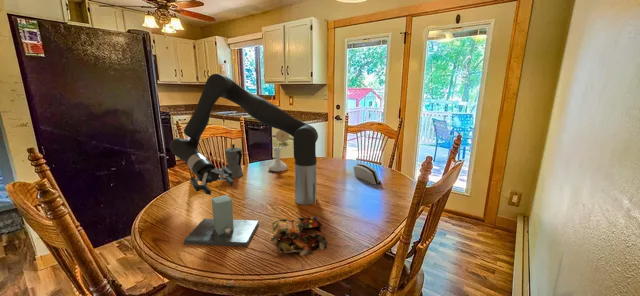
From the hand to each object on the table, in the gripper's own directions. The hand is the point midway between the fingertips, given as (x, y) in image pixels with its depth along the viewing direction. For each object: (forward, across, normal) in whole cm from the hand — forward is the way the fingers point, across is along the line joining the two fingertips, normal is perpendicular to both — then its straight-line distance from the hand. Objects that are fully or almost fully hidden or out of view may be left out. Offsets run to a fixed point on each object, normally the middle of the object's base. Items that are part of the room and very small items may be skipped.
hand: (221, 188), depth 98 cm
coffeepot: (-34, +26, +29) cm, 51 cm away
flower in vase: (-26, +50, +30) cm, 63 cm away
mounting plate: (+14, -7, +7) cm, 17 cm away
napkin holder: (+19, +74, +18) cm, 78 cm away
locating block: (+13, -6, +6) cm, 16 cm away
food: (+32, +10, +4) cm, 34 cm away
